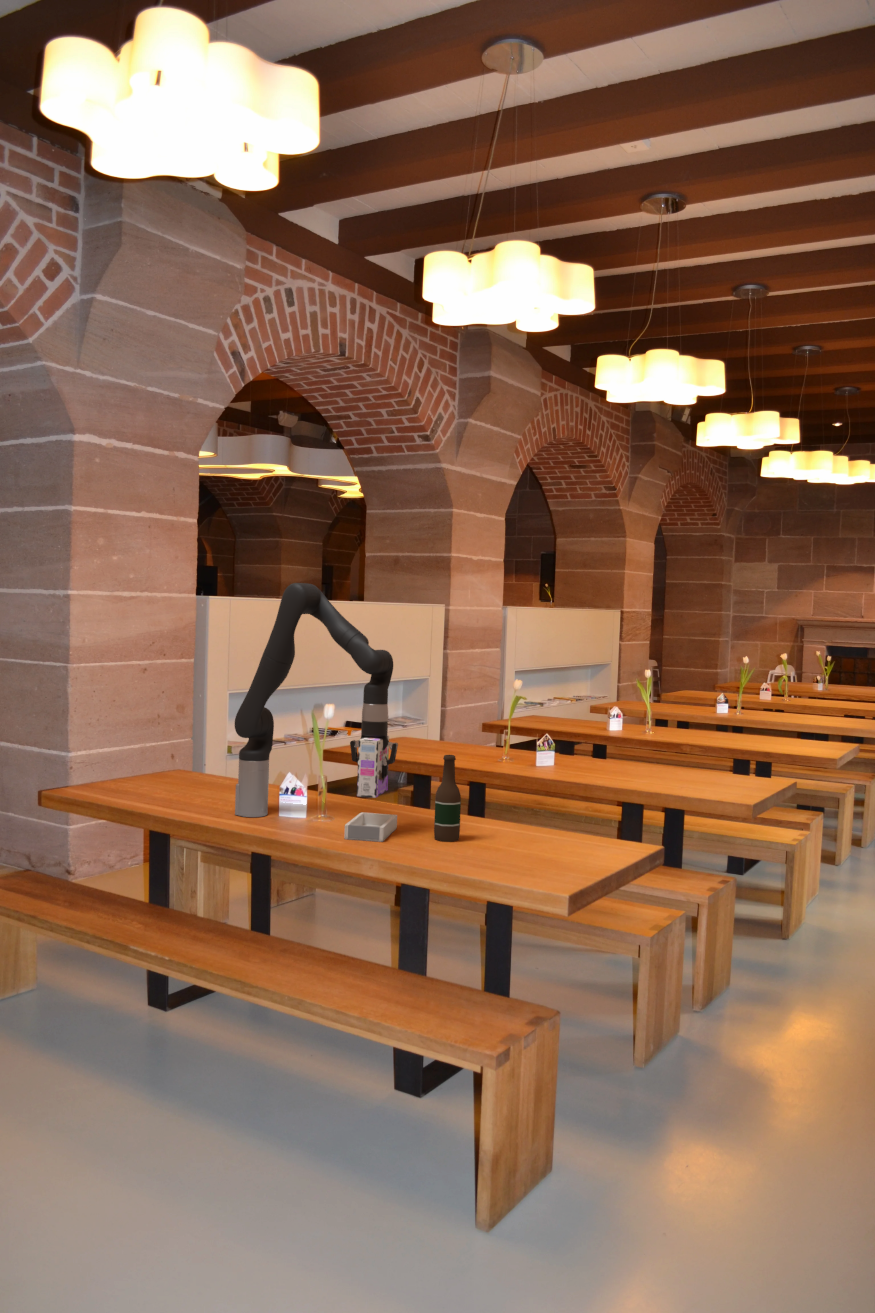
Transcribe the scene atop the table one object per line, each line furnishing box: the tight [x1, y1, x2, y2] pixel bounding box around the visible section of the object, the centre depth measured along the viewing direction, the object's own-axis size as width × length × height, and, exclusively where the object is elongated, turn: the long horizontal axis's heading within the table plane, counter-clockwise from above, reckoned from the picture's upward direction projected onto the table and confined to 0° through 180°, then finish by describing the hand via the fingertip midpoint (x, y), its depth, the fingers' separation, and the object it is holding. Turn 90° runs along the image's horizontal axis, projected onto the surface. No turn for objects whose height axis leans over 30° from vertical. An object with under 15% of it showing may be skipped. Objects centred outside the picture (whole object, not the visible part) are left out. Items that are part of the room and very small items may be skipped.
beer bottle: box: [433, 754, 462, 843], centre depth 282 cm, size 8×8×24 cm
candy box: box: [356, 735, 390, 799], centre depth 285 cm, size 14×6×16 cm, turn 169°
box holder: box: [343, 812, 398, 843], centre depth 286 cm, size 11×19×4 cm, turn 171°
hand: (372, 777), depth 285 cm, fingers closed on candy box, 6 cm apart
